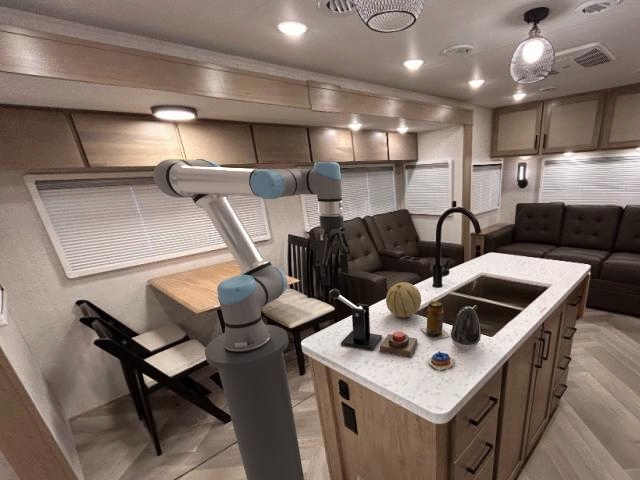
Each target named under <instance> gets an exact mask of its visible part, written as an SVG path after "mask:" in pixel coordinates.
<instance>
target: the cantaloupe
mask: <svg viewBox="0 0 640 480" xmlns="http://www.w3.org/2000/svg"><path fill="white" fill-rule="evenodd" d="M421 295H422V294H421V293H420V291H419V289H418V287H416V286H415V285H414V284H412V283H410V282H405V281H404V282H398V283H395V284H394V285H392V286H391V287H390V288H389V289H388V291H387V292H386V297H385V305H386V307H387V309H388V311H389V312H390V313H391V314H392V315H394V316H396V317H398V318H409V317H412V316H413V315H415V314H416V313H417V312H419V310H420V308H421V304H422V296H421Z"/></svg>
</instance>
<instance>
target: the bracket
mask: <svg viewBox="0 0 640 480" xmlns="http://www.w3.org/2000/svg"><path fill="white" fill-rule="evenodd" d="M355 306H357V307H359V306H361V307H363V308H364V309H366V312H365V311H364V309H357V308H351V321H352V322H351V323H352V330H351V331H350V332H349V333H348V334H347V335H346V336H345V338H343V339H342V341H341V342H340V343H341V346H345V347H351V348H357V349H363V350H368V351H374V349H375V348H376V347H377V345H378V344H379V343H380V341H381V340H382V339H383V335H382V334H377V333H371V324H370V323H371V321H370V320H371V319H370V318H371V317H370V304H367V303H366V304H364V303H356V304H355Z"/></svg>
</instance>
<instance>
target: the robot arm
mask: <svg viewBox="0 0 640 480" xmlns="http://www.w3.org/2000/svg"><path fill="white" fill-rule="evenodd" d="M152 176H153V180H154V183H155V185H156V186H157V188H158V189H159V190H160V191H161V192H162V193H164V194H165V195H167V196H169V197H172V198H176V199H177V198H180V199H184V198H191V200H192V202H193V203H194V204H195V206H197V208H202V209H203V210H204V212H205V213H206V215H207V217H208V218H209V220H210V222H211V223H212V224H213V227H214V228H215V229H216V231H217V233H218V234H219V236H220V238H221V239H222V241H223V243H224V244H225V246H226V247H227V249H228V250H229V252H230V254H231V255H232V257H233V259H234V260H235V262H236V263H237V266H238V267H239V268H240V273H239V275H235V276H230V277H228V278H226V279H223V280H222V281H221V282H220V283H219V284H218V285H217V288H216V290H217V291H216V292H217V301H218V303H219V306H220V310H221V314H222V318H223V323H224V333H225V338H224V340H223V345H224V348H225V350H226V351H228V352H230V353H248V352H252V351H255V350H258V349H260V348H262V347H264V346H265V345H267V344H268V343H269V342H270V340H271V336H270V332H269V330H268V329H267V327H266V325H267V324H266V323H265V322H264V321H263V318H262V312H261V308H263V307H265V306H266V305H268V304H270V303H272V302H273V301H275V300H277V299H279V298H280V297H281V296H282V295H284V293H285V292H286V291H287V287H288V279H287V276H286V274H285V272H284V271H283V270H282V269H281V268H279V267H277V266H273V265H272V263H271V260H267V259H264V257H263V256H262V254H261V253H260V250H259V249H258V247H257V246H256V244H255V243H254V241H253V239H252V237H251V235H250V233H249V232H248V230H247V229H246V227H245V225H244V223H243V222H242V221H241V219H240V217H239V215H238V213H237V212H236V210H235V209H234V207H233V205H232V204H231V201H230V199H229V196H233V197H235V196H236V197H257V198H260V199H263V200H276V199H279V198H284V197H286V198H287V197H293V196H294V197H295V196H300V195H306V196H307V195H308V196H310V195H311V196H312V195H313V196H316V199H317V208H318V210H317V211H318V214H319V217H318V219H319V227H320V228H321V229H323V233H318V235H317V240H318V242H317V247H316V253H315V254H316V255H315V261H314V265H315V266H319V272H320V280H321V285H322V286H327V287H328V286H331V278H330V277H331V275H330V266H329V265H328V262H329V260H330V255H331V252H332V250H333V248H334V247H335V246H336V247H337V249H338V251H339V252H340V254H339V260H340V261H339V262H340V263H339V264H340V273H343V274H349V273H350V269H349V267H350V266H349V256H350V255H351V254H352V252H351V251H352V248H351V246H350V245H351V244H350V242H349V238H348V236H347V231H346V227H345V223H344V222H345V221H344V215H343V213H344V209H343V208H344V204H343V192H342V191H343V190H342V175H341V167H340V164H339V163H338V162H335V161H316V162H315V163H314V167H313V168H294V167H293V168H290V167H289V168H245V167H244V168H242V167H222V166H221V165H219V164H218V163H217V162H215V161H213V160H209V159H208V160H207V159H203V158H195V159H185V158H183V159H181V158H178V159H177V158H169V159H165V160H162V161H160V162H159V163H157V164H156V165H155V167H154V169H153V174H152Z"/></svg>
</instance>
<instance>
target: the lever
mask: <svg viewBox="0 0 640 480" xmlns="http://www.w3.org/2000/svg"><path fill="white" fill-rule="evenodd" d="M329 297H330V298H331V299H333V300H339V301H341V302H342V303H344V304H345V305H347V306H348V307H350V308H351V309H352V308H357V309H364V308H363V307H361V306H359V307H357V305H356V304H354V303H352V302H351V301H350V300H348V299H346V298H345V297H343V296H342V295H341V292H340V289H337V288H332V289H331V290H330V291H329ZM364 311H365V312H366V309H364Z"/></svg>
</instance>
